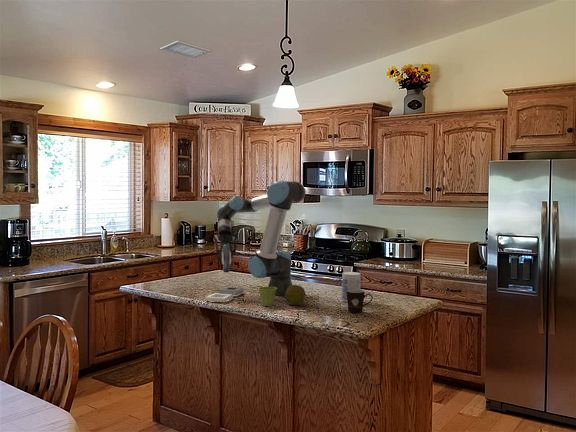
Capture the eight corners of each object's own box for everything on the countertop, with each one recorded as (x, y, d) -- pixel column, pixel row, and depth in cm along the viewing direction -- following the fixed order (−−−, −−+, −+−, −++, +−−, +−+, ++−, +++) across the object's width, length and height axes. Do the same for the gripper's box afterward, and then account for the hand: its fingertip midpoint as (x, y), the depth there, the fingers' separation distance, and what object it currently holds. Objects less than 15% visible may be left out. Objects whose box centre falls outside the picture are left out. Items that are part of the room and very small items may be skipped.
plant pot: (254, 305, 261) (254, 287, 261) (269, 302, 267) (269, 285, 267) (265, 308, 254) (265, 290, 254) (280, 305, 260) (280, 288, 260)
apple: (284, 306, 257) (284, 284, 257) (286, 302, 267) (286, 281, 266) (304, 307, 256) (304, 285, 256) (306, 303, 266) (306, 281, 265)
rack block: (233, 299, 276) (233, 294, 276) (224, 303, 265) (224, 298, 265) (214, 297, 279) (214, 293, 279) (204, 302, 269) (204, 297, 268)
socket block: (243, 293, 291) (243, 287, 290) (236, 297, 281) (236, 290, 281) (227, 292, 294) (227, 286, 293) (219, 296, 284) (219, 289, 284)
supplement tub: (339, 302, 268) (339, 273, 267) (345, 298, 276) (345, 271, 276) (357, 304, 264) (357, 275, 263) (362, 300, 272) (362, 272, 272)
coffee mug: (342, 312, 244) (342, 291, 244) (351, 309, 252) (351, 288, 251) (365, 315, 238) (365, 294, 237) (373, 312, 245) (373, 291, 245)
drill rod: (230, 271, 285) (230, 244, 284) (227, 272, 282) (227, 245, 281) (225, 271, 286) (224, 244, 285) (222, 272, 283) (221, 244, 282)
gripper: (238, 233, 299) (241, 266, 284) (210, 233, 297) (211, 267, 281) (239, 224, 294) (242, 258, 279) (210, 225, 291) (211, 258, 276)
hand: (226, 262), depth 280 cm, fingers closed on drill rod, 3 cm apart
